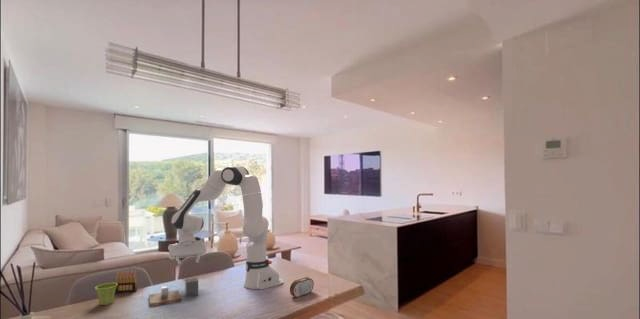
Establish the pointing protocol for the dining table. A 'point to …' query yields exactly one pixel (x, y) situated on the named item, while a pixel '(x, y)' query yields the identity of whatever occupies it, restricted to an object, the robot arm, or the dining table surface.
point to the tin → (301, 287)
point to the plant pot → (106, 293)
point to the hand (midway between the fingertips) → (188, 262)
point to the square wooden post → (164, 291)
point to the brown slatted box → (126, 282)
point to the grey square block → (191, 287)
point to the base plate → (158, 300)
